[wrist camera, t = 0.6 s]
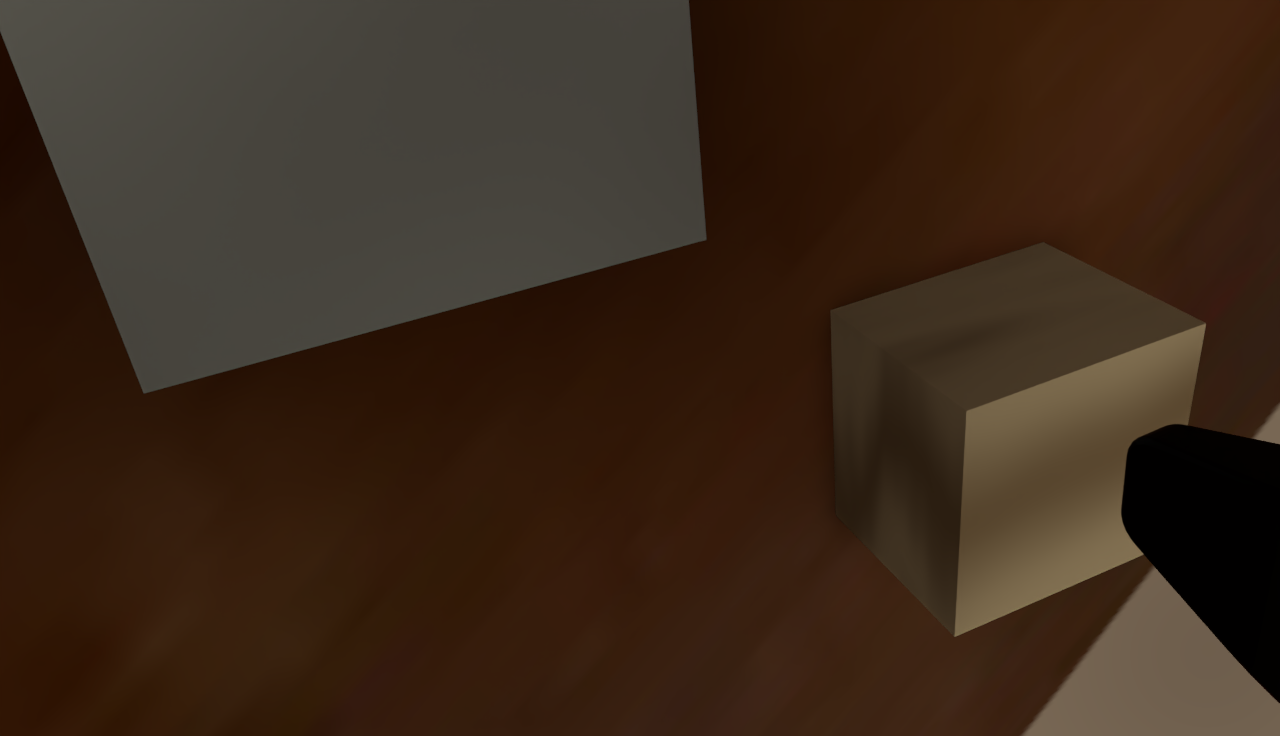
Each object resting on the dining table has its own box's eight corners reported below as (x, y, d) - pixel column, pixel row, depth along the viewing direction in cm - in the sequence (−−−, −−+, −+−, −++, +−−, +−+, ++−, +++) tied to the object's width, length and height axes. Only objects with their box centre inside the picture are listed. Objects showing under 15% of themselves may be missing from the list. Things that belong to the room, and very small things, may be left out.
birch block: (1022, 440, 30) (1165, 544, 26) (832, 512, 28) (954, 637, 24) (1040, 240, 26) (1206, 323, 22) (827, 308, 25) (966, 411, 21)
